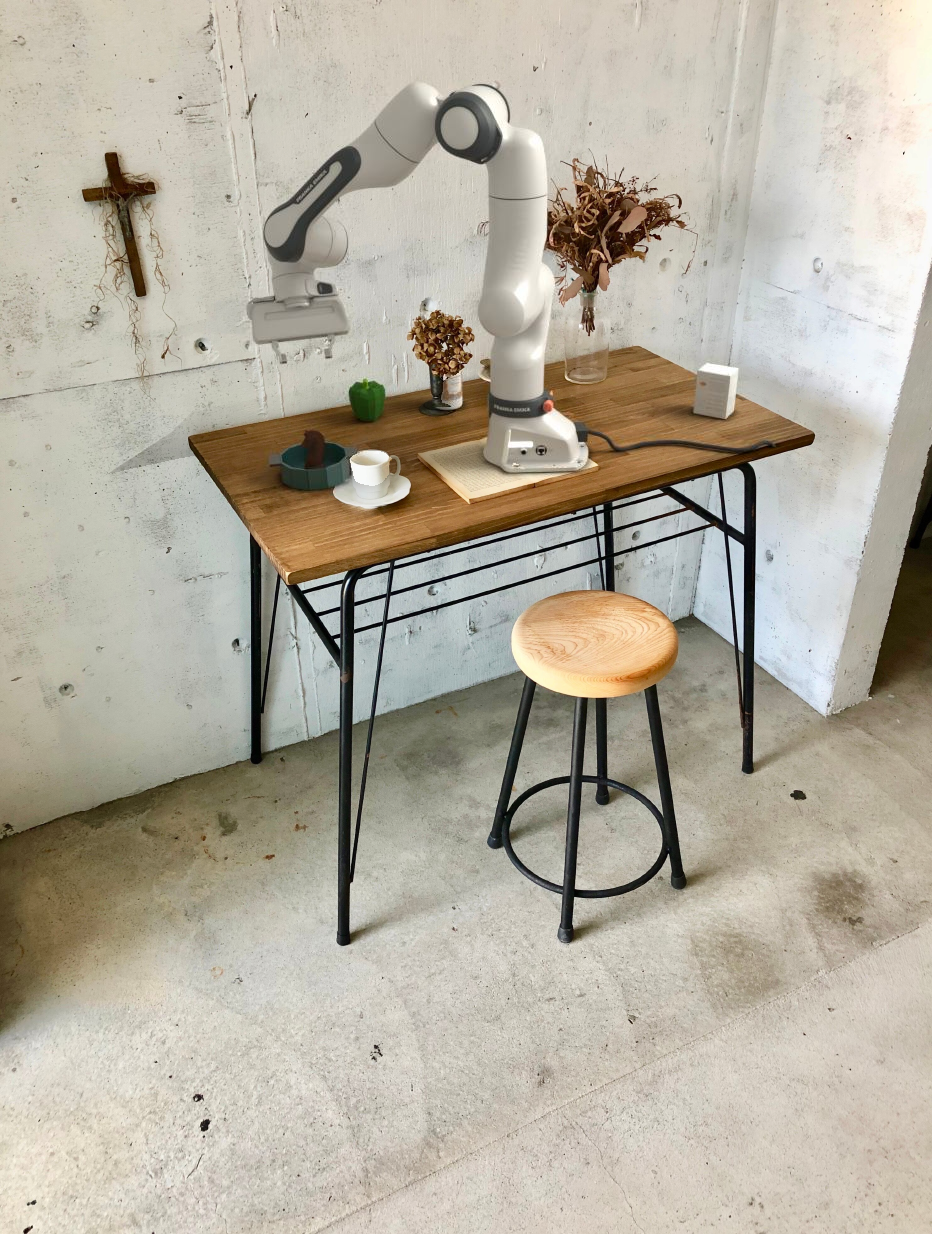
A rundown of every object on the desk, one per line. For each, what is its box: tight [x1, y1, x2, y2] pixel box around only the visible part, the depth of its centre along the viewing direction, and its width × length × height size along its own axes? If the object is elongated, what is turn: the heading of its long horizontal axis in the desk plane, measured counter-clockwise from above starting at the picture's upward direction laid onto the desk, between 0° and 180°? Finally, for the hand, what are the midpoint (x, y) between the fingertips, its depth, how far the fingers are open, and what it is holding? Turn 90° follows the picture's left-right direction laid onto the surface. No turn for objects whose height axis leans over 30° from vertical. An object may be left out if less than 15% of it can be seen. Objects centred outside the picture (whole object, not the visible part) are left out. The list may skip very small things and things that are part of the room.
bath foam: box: [435, 370, 463, 411], centre depth 237 cm, size 7×7×20 cm
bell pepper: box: [348, 378, 386, 423], centre depth 234 cm, size 8×8×10 cm
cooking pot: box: [268, 441, 359, 491], centre depth 211 cm, size 14×18×4 cm
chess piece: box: [301, 429, 326, 469], centre depth 210 cm, size 5×5×10 cm
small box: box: [692, 362, 740, 420], centre depth 233 cm, size 8×6×10 cm
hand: (306, 360), depth 211 cm, fingers open, 8 cm apart
